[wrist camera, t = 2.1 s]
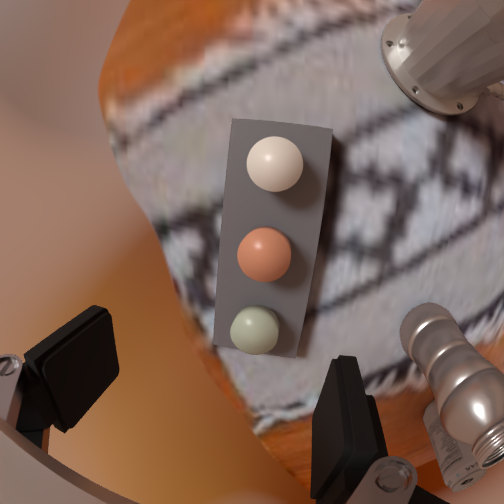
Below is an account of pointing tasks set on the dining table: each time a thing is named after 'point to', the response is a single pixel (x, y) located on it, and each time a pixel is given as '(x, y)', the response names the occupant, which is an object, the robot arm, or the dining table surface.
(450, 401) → the plastic bottle
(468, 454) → the energy drink can
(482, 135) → the dining table surface
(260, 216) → the button board
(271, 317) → the key sage
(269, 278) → the key terracotta
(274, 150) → the key cream
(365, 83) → the dining table surface
